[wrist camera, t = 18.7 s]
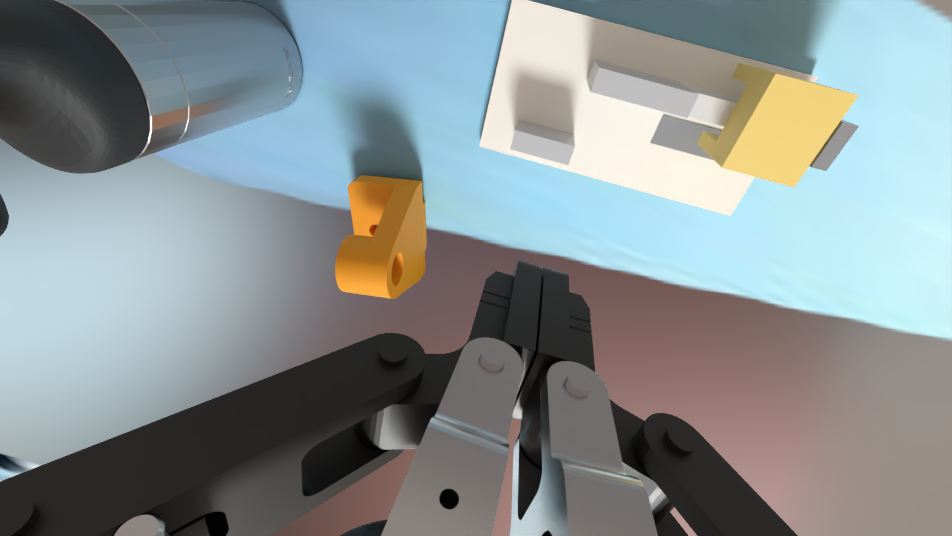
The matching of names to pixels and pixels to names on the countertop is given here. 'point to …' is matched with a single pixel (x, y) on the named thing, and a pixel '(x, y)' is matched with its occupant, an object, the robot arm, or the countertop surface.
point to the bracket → (383, 237)
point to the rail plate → (621, 105)
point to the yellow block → (776, 125)
